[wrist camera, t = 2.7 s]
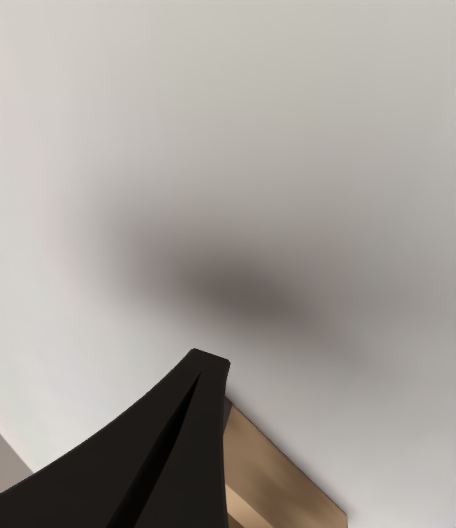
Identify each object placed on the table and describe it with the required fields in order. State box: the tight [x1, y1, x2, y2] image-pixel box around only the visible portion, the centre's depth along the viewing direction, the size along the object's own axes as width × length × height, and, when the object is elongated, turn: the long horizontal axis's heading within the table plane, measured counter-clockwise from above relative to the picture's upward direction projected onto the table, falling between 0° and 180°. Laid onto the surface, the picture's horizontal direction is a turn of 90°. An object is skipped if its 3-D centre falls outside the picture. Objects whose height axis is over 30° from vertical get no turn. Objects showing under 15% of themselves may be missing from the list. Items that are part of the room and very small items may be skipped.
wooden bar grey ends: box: [223, 396, 348, 528], centre depth 15 cm, size 12×2×4 cm, turn 44°
